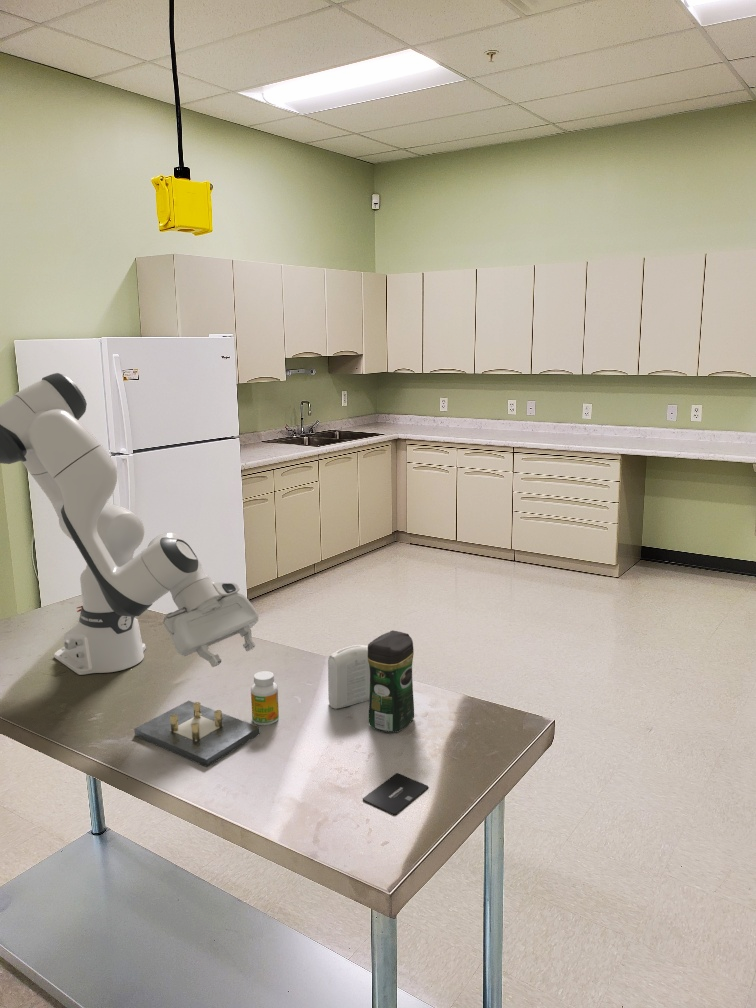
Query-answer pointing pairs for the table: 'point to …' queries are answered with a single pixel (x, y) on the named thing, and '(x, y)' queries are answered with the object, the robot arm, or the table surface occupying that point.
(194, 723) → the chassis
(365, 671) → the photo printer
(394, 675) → the coffee jar
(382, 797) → the solid state drive
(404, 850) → the table surface
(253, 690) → the supplement bottle
